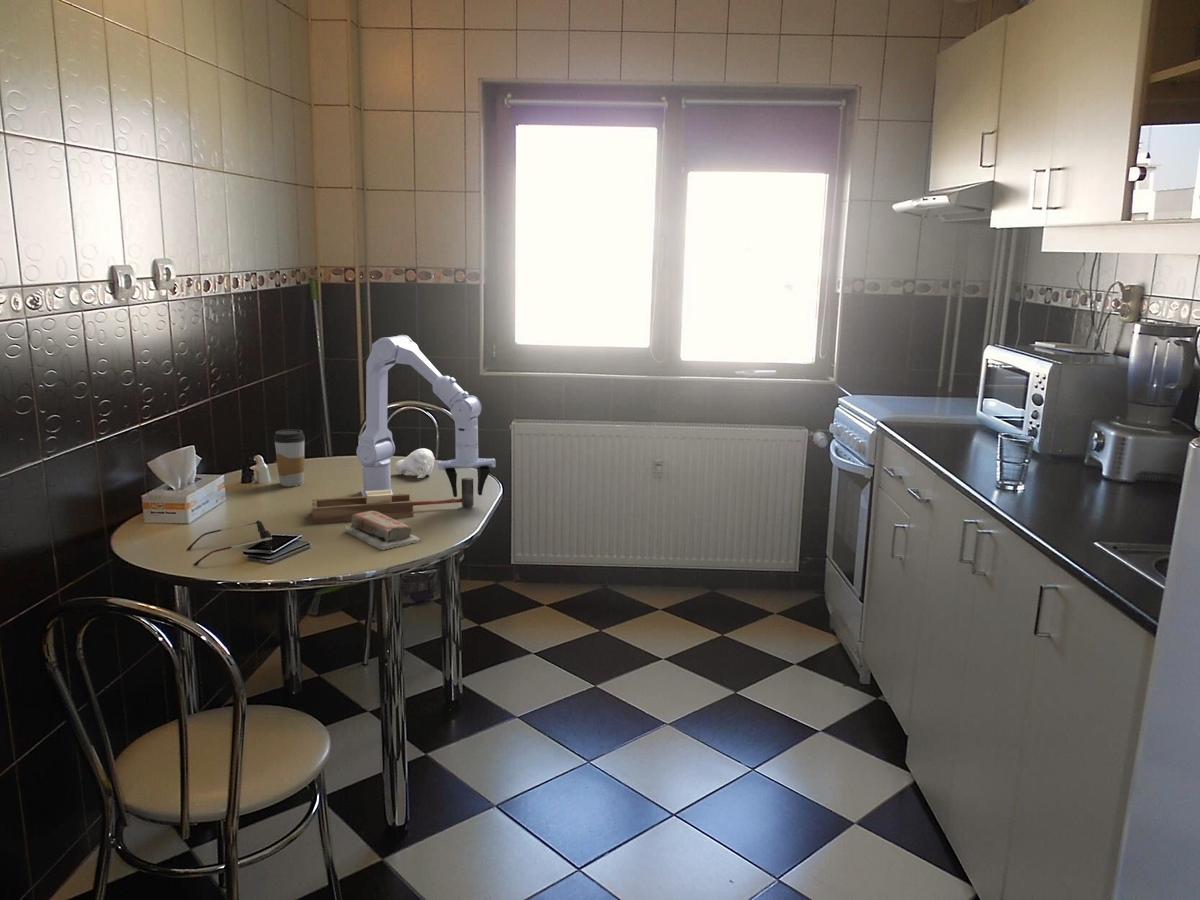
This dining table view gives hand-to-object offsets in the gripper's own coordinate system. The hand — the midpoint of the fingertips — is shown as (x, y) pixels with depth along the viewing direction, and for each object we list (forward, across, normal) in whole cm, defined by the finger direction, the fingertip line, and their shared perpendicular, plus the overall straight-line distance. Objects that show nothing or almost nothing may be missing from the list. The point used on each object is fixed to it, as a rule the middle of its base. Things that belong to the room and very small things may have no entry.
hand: (467, 495), depth 233 cm
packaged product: (+4, -23, -19) cm, 31 cm away
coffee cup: (+3, -44, +35) cm, 56 cm away
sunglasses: (+4, -56, -22) cm, 60 cm away
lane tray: (+3, -26, 0) cm, 27 cm away
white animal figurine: (+3, -10, +36) cm, 37 cm away
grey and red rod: (+3, -12, 0) cm, 12 cm away
